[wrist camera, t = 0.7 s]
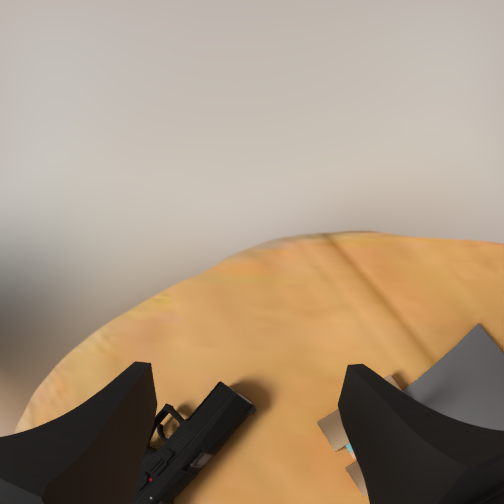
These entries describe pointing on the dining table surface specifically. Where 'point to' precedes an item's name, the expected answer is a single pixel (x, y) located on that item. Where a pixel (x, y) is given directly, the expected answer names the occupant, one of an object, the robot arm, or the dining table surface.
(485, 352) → the mat
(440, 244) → the dining table surface
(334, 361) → the dining table surface
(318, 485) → the dining table surface
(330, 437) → the tile rack
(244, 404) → the handgun
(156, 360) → the dining table surface
